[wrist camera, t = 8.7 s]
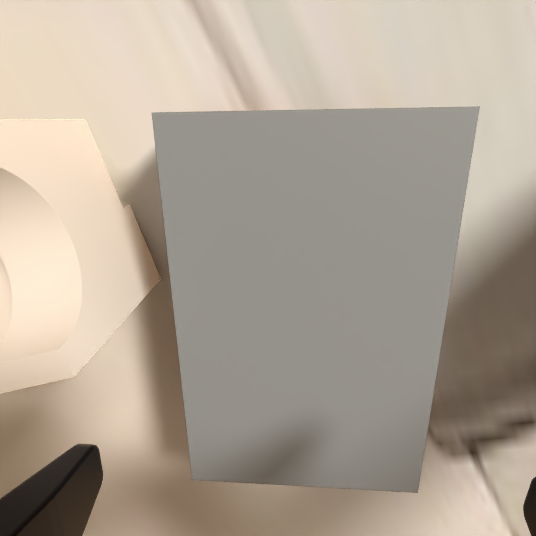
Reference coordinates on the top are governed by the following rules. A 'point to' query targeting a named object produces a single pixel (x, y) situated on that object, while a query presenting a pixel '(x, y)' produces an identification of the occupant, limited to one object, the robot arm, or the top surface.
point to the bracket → (62, 252)
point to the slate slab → (311, 286)
